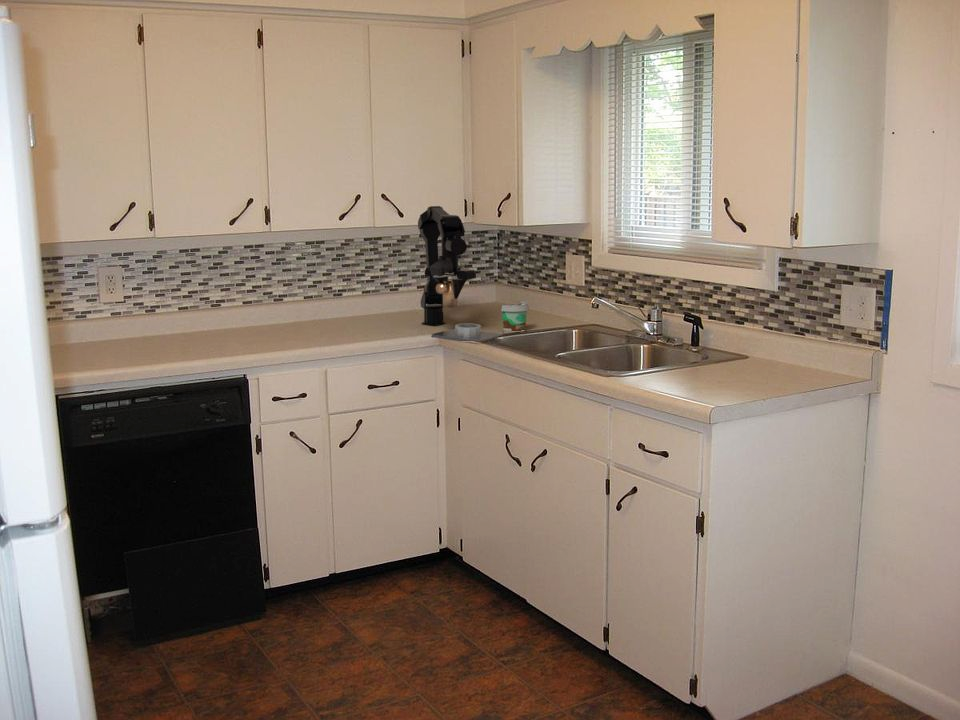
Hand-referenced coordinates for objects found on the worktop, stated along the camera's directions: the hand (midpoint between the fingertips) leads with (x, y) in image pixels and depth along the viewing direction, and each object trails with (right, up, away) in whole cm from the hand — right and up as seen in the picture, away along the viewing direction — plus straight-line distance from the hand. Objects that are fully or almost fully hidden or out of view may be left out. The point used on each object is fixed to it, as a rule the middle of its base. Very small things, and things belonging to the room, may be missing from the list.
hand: (450, 297), depth 344 cm
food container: (+24, -12, +9) cm, 28 cm away
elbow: (-1, -3, -1) cm, 3 cm away
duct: (+6, -14, -1) cm, 15 cm away
